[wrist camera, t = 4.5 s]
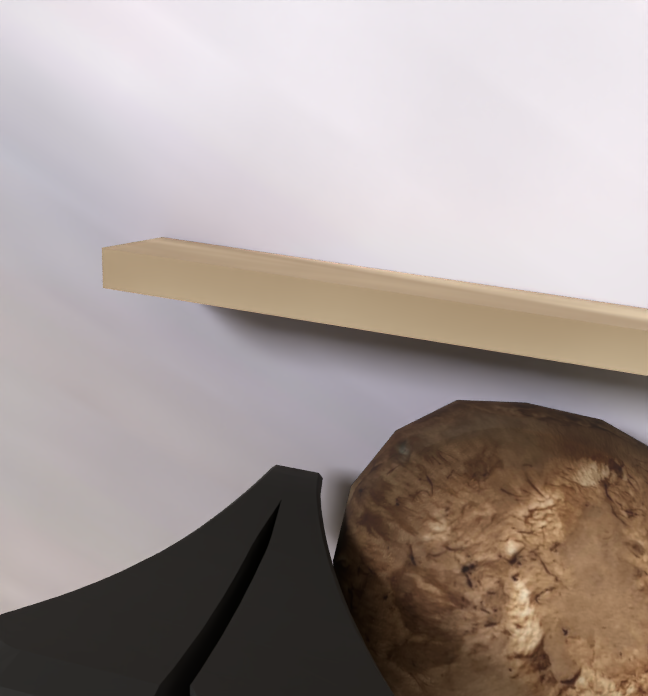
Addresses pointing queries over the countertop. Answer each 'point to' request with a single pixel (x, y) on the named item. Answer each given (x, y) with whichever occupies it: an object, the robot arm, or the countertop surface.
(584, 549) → the mushroom
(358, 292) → the guide fence
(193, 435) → the countertop surface
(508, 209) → the countertop surface
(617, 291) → the countertop surface
